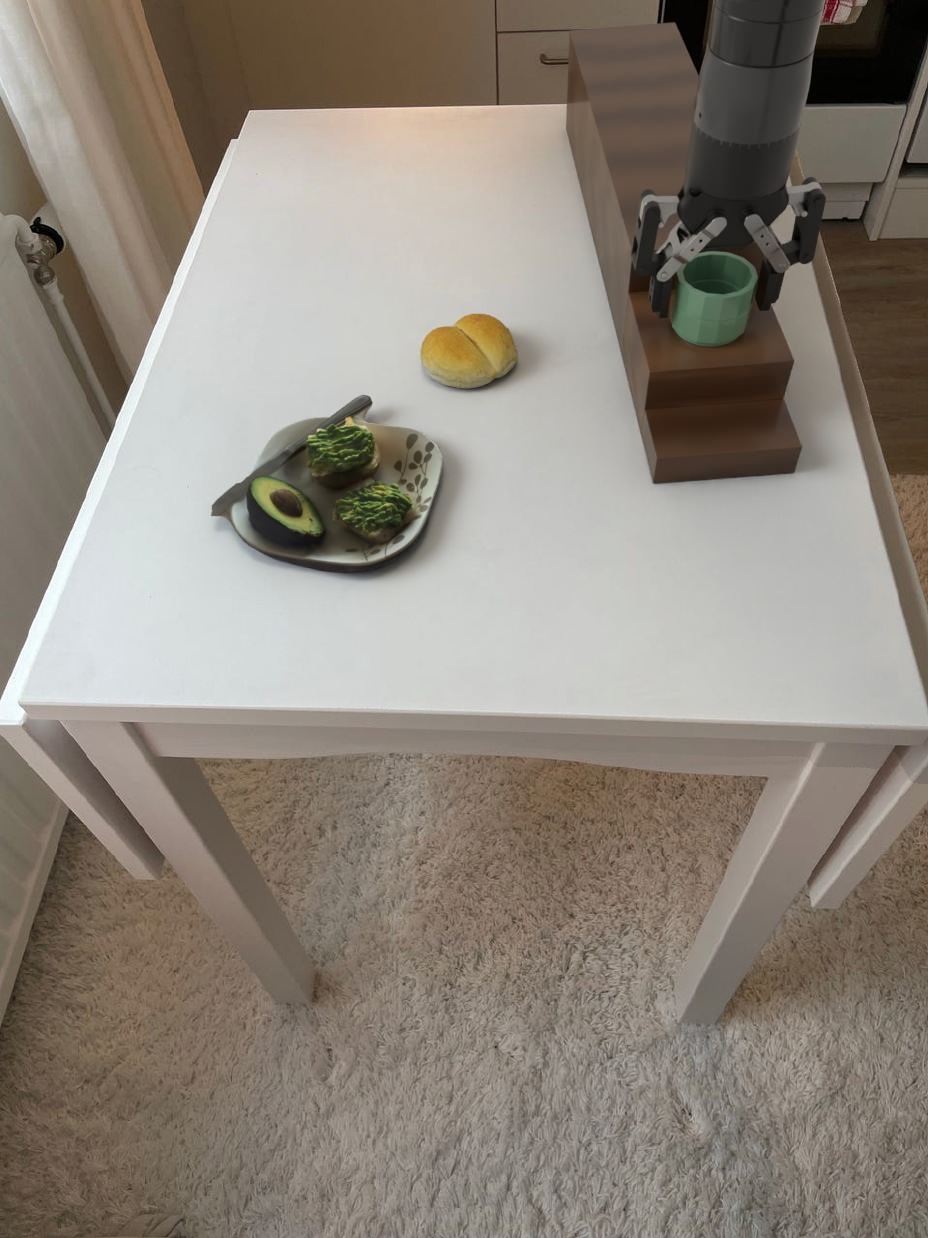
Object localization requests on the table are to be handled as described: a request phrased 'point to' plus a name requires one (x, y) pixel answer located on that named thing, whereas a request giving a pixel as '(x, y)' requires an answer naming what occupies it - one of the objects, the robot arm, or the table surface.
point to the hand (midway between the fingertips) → (711, 308)
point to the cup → (713, 298)
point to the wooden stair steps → (650, 347)
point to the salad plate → (336, 492)
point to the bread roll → (469, 352)
